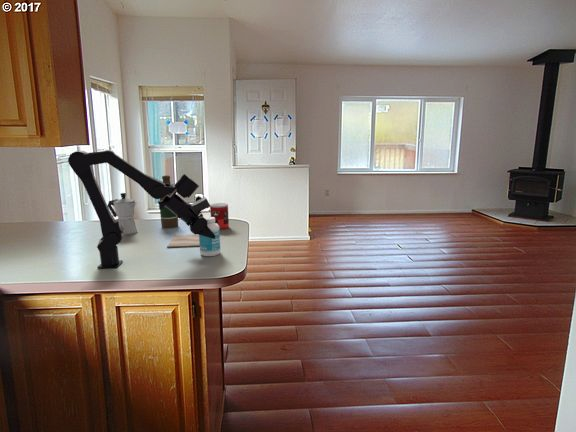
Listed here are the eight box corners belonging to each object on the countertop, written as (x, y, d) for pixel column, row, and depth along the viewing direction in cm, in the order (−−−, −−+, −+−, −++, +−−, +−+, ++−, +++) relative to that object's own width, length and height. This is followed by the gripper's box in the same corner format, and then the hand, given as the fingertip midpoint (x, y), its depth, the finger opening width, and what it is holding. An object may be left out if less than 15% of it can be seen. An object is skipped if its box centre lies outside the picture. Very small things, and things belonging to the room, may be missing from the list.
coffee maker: (145, 231, 182) (141, 191, 178) (133, 236, 174) (129, 195, 170) (117, 229, 186) (113, 191, 182) (104, 234, 178) (99, 194, 174)
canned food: (209, 227, 188) (208, 204, 185) (226, 225, 191) (225, 202, 188) (213, 230, 181) (212, 206, 178) (231, 228, 184) (229, 205, 182)
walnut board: (201, 246, 157) (201, 245, 157) (167, 247, 156) (167, 246, 156) (205, 235, 173) (205, 234, 172) (174, 236, 171) (174, 235, 171)
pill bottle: (216, 257, 143) (214, 220, 140) (196, 256, 145) (194, 220, 142) (223, 251, 151) (221, 216, 148) (205, 250, 152) (202, 215, 149)
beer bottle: (161, 225, 193) (157, 175, 188) (178, 223, 195) (174, 174, 190) (161, 228, 186) (157, 177, 180) (178, 227, 188) (175, 176, 183)
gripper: (198, 194, 133) (233, 223, 139) (192, 187, 150) (223, 213, 156) (176, 219, 132) (211, 248, 138) (172, 209, 149) (203, 235, 155)
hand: (213, 234), depth 147 cm, fingers closed on pill bottle, 7 cm apart
